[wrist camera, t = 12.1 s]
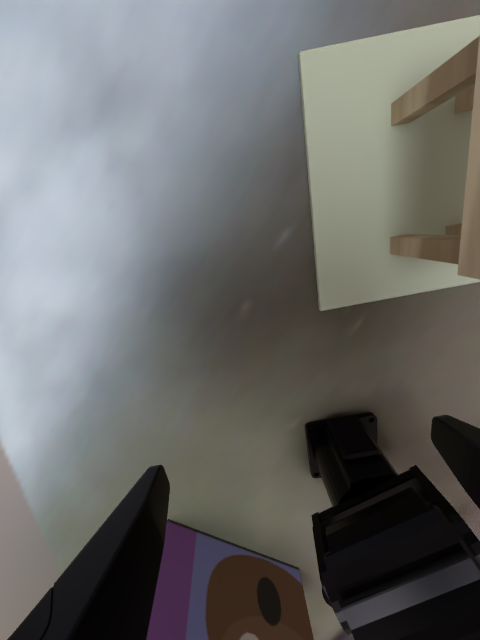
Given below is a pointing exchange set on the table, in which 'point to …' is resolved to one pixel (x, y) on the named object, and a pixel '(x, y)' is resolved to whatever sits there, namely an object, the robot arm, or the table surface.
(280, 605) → the cereal box
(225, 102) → the table surface
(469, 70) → the beige wooden bench
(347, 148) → the mat
